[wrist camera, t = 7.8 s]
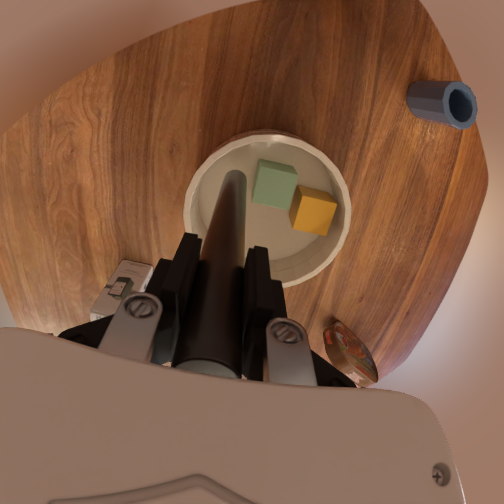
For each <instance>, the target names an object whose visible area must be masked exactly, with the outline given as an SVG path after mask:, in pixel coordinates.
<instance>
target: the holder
mask: <svg viewBox="0 0 504 504" xmlns="http://www.w3.org/2000/svg"><path fill="white" fill-rule="evenodd" d="M407 103H408V106H409V108H410V110H411V112H412V113H413V114H414V115H415V116H416V117H418V118H420V119H423V120H425V121H429V122H433V123H438V124H442V125H445V126H449V127H453V128H457V129H467V128H469V127H470V126H471V125H472V124H473V123H474V122H475V119H476V115H477V103H476V97H475V96H474V94H473V92H472V90H471V88H470V87H468V86H467V85H465V84H464V83H463V82H461V81H437V80H424V81H416V82H414V83H412V84H411V85H410V87H409V89H408V91H407Z"/></svg>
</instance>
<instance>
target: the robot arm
mask: <svg viewBox="0 0 504 504" xmlns="http://www.w3.org/2000/svg"><path fill="white" fill-rule="evenodd" d="M201 246H202V239H201V238H198V234H193V233H188V232H185V233H184V236H183V238H182V240H181V242H180V245H179V247H178V249H177V251H176V254H175V256H174V258H173V260H168V259H163V258H161V259H160V260H159V262H158V264H157V266H156V268H155V270H154V272H153V274H152V276H151V278H150V280H149V282H148V284H147V286H146V288H145V291H144V292H135V293H132V294H129V295H127V296H126V297H124V298H123V300H122V301H121V302H120V304H119V306H118V308H117V310H116V312H115V314H112V315H109V316H106V317H103V318H100V319H97V320H94V321H91V322H88V323H85V324H82V325H79V326H76V327H73V328H70V329H67V330H65V331H63V332H62V333H61V334H59V335H58V337H56V336H54V335H53V333H43V332H39V331H35V330H31V329H24V328H14V327H13V328H10V327H4V328H0V504H466V502H465V497H464V493H463V490H462V486H461V482H460V478H459V474H458V471H457V468H456V464H455V461H454V458H453V455H452V452H451V449H450V447H449V444H448V441H447V439H446V436H445V434H444V431H443V429H442V427H441V425H440V423H439V421H438V419H437V417H436V415H435V414H434V412H433V411H432V409H431V408H430V407H429V406H428V405H427V404H426V403H425V402H423V401H422V400H420V399H418V398H416V397H414V396H411V395H408V394H405V393H401V392H397V391H391V390H384V389H372V388H365V387H361V388H357V387H356V385H355V384H354V382H353V381H352V380H351V379H350V378H349V377H347V376H346V375H344V374H343V373H342V372H340V371H339V370H338V369H336V368H335V367H334V366H332V365H331V364H330V363H328V362H327V361H326V360H324V359H323V358H322V357H320V356H319V355H318V354H316V353H315V352H314V351H312V350H311V349H310V345H309V340H308V335H307V332H306V330H305V329H304V327H303V326H302V325H301V324H299V323H298V322H296V321H294V320H292V319H288V318H287V312H286V305H285V299H284V292H283V286H282V281H280V280H274V279H271V273H270V264H269V255H268V248H266V247H261V246H256V245H255V246H254V248H249V249H248V253H247V257H246V261H245V265H244V273H243V305H242V374H243V375H244V376H245V377H246V378H247V380H245V379H237V378H230V377H223V376H216V375H210V374H204V373H199V372H193V371H188V370H182V369H177V368H172V367H168V366H163V365H162V364H164V363H166V362H168V361H169V362H172V359H173V355H174V351H175V347H176V343H177V339H178V335H179V331H180V327H181V325H182V323H183V319H184V315H185V311H186V308H187V304H188V300H189V296H190V292H191V289H192V285H193V281H194V278H195V274H196V271H197V267H198V264H199V259H200V252H201Z"/></svg>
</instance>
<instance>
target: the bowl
mask: <svg viewBox="0 0 504 504" xmlns="http://www.w3.org/2000/svg"><path fill="white" fill-rule="evenodd" d="M259 159H264V160H268V161H273V162H277V163H281V164H285V165H289V166H293V167H294V169H295V170H296V172H297V174H298V179H297V182H296V186H295V189H294V193H293V196H292V200H291V203H290V207H289V210H285V209H280V208H276V207H271V206H266V205H262V204H257V203H252V192H251V191H252V186H253V182H254V178H255V174H256V170H257V165H258V161H259ZM231 170H240V171H242V172H243V173H244V174H245V175H246V178H247V192H246V224H245V257H244V265H245V261H246V257H247V253H248V249H249V248H254V246H255V245H256V246H261V247H266V248H268V255H269V264H270V273H271V279H274V280H280V281H282V286H283V288H285V287H289V286H293V285H297V284H300V283H301V282H303V281H305V280H307V279H309V278H311V277H313V276H315V275H316V274H318V273H319V272H320V271H321V270H322V269H324V268H325V267H326V266H327V265H328V264H329V263H330V262H332V260H333V259H334V257H335V256H336V255H337V253H338V252H339V251H340V249H341V248H342V246H343V244H344V241H345V238H346V236H347V233H348V231H349V227H350V218H351V202H350V197H349V191H348V188H347V185H346V183H345V181H344V179H343V177H342V175H341V173H340V171H339V169H338V168H337V167H336V166H335V165H334V164H333V162H332V161H331V160H330V159H329V158H328V157H327V156H326V155H325V154H324V153H323V152H322V151H320V150H319V149H318V148H316V147H315V146H314V145H312V144H311V143H309V142H308V141H306V140H304V139H303V138H301V137H299V136H297V135H295V134H292V133H289V132H285V131H281V130H276V129H257V130H250V131H246V132H243V133H240V134H237V135H234V136H232V137H231V138H229V139H227V140H226V141H224V142H223V143H221V144H220V145H218V146H217V147H216V148H215V149H214V150H213V151H212V152H211V153H210V155H209V156H208V157H207V158H206V159H205V160H204V161H203V163H202V164H201V165H200V167H199V168H198V169H197V171H196V172H195V174H194V176H193V178H192V180H191V182H190V185H189V187H188V189H187V191H186V195H185V202H184V209H183V218H184V225H185V231H186V232H188V233H193V234H198V238H201V239H202V246H201V251H202V247H203V244H204V240H205V237H206V234H207V230H208V227H209V224H210V221H211V217H212V214H213V211H214V208H215V205H216V201H217V198H218V195H219V192H220V189H221V186H222V183H223V180H224V177H225V175H226V173H227V172H229V171H231ZM297 185H301V186H305V187H309V188H313V189H317V190H321V191H324V192H328V193H329V194H330V195H331V196H332V198H333V199H334V200H335V202H336V203H337V207H336V210H335V213H334V215H333V218H332V221H331V224H330V227H329V230H328V232H327V235H326V236H322V235H318V234H313V233H309V232H304V231H300V230H295V229H292V225H291V222H290V219H289V211H290V208H291V205H292V201H293V198H294V194H295V191H296V187H297ZM200 254H201V252H200Z"/></svg>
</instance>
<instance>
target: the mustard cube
mask: <svg viewBox="0 0 504 504" xmlns="http://www.w3.org/2000/svg"><path fill="white" fill-rule="evenodd" d="M336 207H337V203H336V202H335V200H334V199H333V198H332V196H331V195H330V194H329V193H328V192H324V191H321V190H317V189H313V188H309V187H305V186H301V185H297V187H296V191H295V194H294V198H293V201H292V205H291V208H290V211H289V219H290V222H291V225H292V229H295V230H300V231H304V232H309V233H313V234H318V235H322V236H326V235H327V232H328V230H329V227H330V224H331V221H332V218H333V215H334V213H335V210H336Z"/></svg>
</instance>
